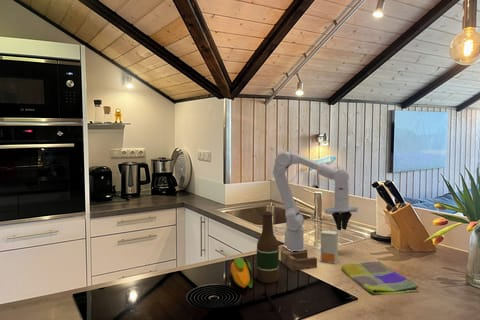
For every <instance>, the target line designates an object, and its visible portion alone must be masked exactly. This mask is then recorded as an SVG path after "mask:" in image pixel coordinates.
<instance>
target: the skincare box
mask: <svg viewBox="0 0 480 320" xmlns="http://www.w3.org/2000/svg"><path fill="white" fill-rule="evenodd" d="M338 235H339V233H338V231H333V230H322V231H320V262H323V263H330V264H336V263H337V262H338V251H339V249H338V247H339V244H338V238H339V237H338Z"/></svg>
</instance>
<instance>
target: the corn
mask: <svg viewBox="0 0 480 320" xmlns="http://www.w3.org/2000/svg"><path fill="white" fill-rule="evenodd" d="M252 271H253V269H252V266H251V262H250V261H249V260H247V258H243V257H235V258H233V262H232V263H231V265H230V275H231V279H232V281H233V283H234V284H235V286H237V287H238V286H239V287H241V288H243V289H245V288H246V287H247V286H248V287H249V288H250V289H251V288H253V285H254V279H253V275H252V273H251V272H252Z"/></svg>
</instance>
